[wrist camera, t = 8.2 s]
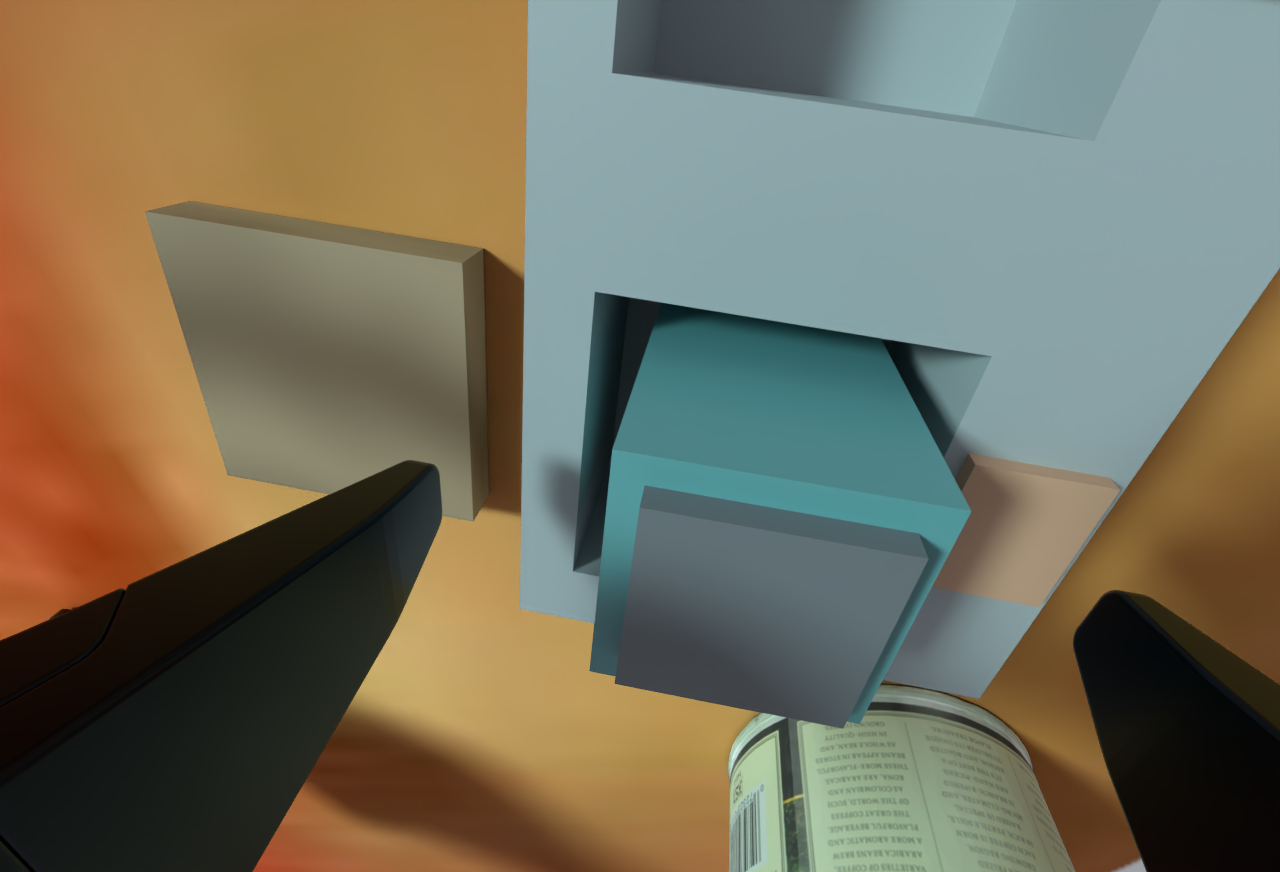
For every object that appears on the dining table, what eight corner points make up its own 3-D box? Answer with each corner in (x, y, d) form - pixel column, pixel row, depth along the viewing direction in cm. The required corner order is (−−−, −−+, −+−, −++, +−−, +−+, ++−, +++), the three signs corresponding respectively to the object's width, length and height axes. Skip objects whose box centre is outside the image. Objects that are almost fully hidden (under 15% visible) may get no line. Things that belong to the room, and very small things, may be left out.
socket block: (914, 528, 16) (984, 713, 11) (577, 467, 16) (515, 620, 12) (1404, -495, 7) (2567, -1485, 3) (654, -554, 8) (530, -1457, 3)
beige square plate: (488, 494, 17) (473, 521, 16) (257, 451, 17) (227, 475, 16) (483, 248, 13) (462, 263, 12) (188, 200, 14) (144, 211, 13)
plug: (811, 459, 14) (864, 752, 8) (649, 432, 14) (583, 696, 8) (861, 302, 12) (985, 536, 6) (671, 272, 12) (604, 469, 6)
